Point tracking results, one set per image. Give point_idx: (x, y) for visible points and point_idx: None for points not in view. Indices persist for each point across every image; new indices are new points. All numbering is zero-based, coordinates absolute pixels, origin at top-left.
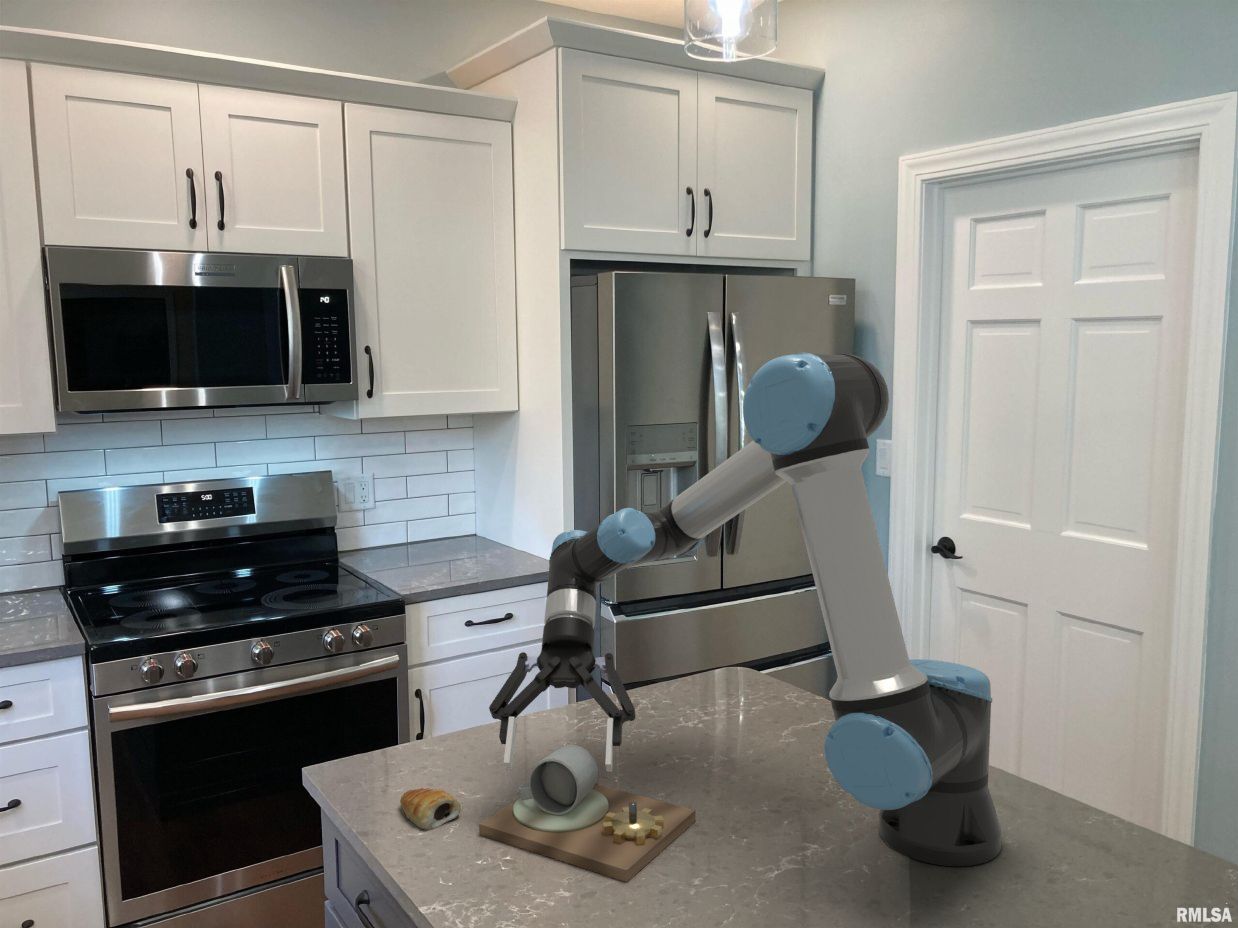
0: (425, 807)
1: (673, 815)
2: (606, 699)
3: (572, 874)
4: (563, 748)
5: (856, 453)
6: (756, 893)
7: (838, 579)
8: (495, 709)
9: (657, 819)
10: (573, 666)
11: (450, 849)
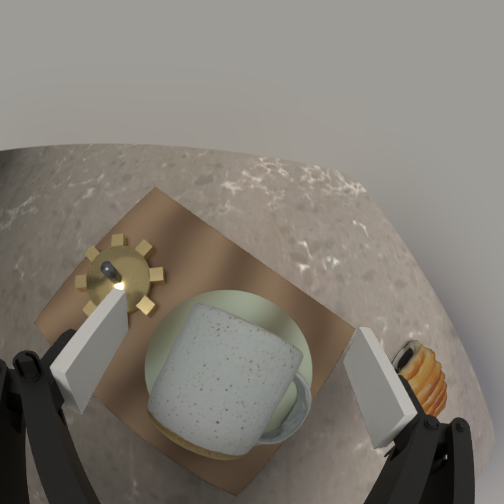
0: (425, 351)
1: (60, 314)
2: (40, 434)
3: (218, 218)
4: (227, 414)
5: None
6: (56, 172)
7: None
8: (454, 424)
9: (83, 277)
10: None
11: (373, 294)
